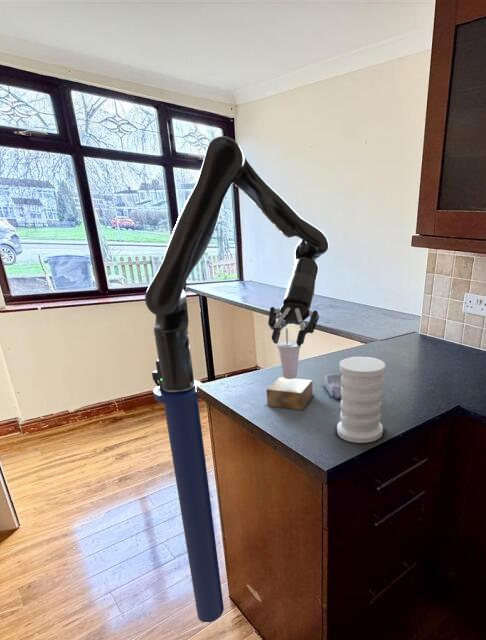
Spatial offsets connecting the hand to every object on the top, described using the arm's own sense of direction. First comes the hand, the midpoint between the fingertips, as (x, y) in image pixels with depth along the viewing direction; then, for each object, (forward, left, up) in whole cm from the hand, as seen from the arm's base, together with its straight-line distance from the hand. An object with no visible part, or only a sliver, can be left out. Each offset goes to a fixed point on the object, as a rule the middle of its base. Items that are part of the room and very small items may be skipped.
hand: (286, 343), depth 109 cm
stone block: (+13, +13, -18) cm, 25 cm away
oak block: (0, +2, -18) cm, 18 cm away
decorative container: (+23, -11, -18) cm, 31 cm away
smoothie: (0, +2, -10) cm, 11 cm away
